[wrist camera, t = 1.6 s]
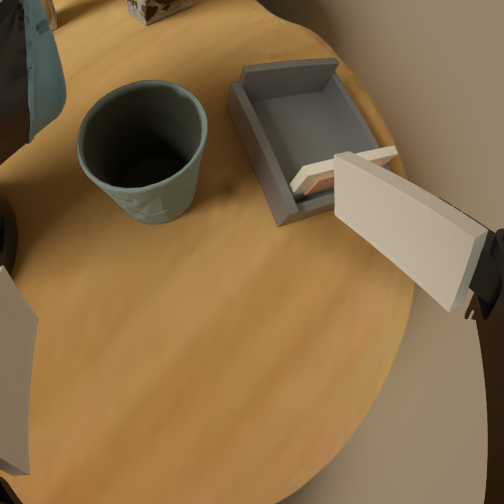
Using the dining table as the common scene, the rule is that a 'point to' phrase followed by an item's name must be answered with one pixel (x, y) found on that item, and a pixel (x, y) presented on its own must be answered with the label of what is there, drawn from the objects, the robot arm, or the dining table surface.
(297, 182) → the pusher
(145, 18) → the coffee box
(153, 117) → the grey-green cup
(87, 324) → the dining table surface
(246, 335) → the dining table surface
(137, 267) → the dining table surface
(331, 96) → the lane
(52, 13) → the skincare box
